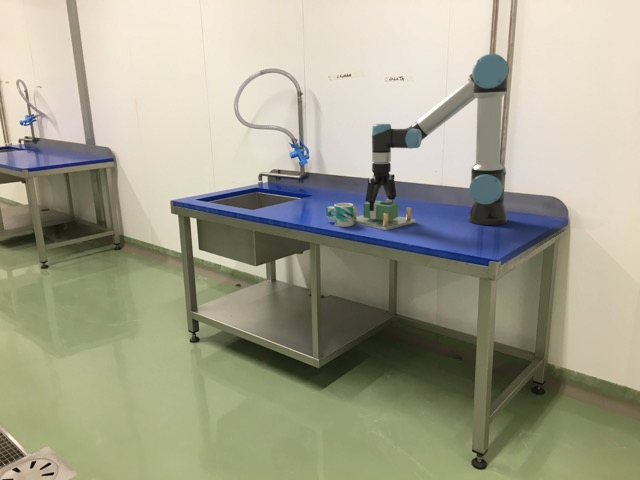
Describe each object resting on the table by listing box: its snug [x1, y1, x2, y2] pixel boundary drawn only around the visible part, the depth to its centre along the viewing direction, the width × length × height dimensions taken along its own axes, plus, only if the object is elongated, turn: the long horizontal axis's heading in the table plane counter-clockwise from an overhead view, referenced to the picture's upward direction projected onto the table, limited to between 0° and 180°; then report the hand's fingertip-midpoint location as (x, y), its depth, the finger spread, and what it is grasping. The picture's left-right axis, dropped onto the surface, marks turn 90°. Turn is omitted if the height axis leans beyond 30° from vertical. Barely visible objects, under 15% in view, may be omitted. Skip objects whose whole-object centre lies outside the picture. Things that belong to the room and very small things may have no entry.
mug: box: [325, 202, 355, 228], centre depth 222 cm, size 8×12×8 cm
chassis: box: [353, 206, 416, 231], centre depth 223 cm, size 22×18×6 cm
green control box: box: [362, 200, 399, 221], centre depth 223 cm, size 12×8×7 cm, turn 55°
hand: (381, 216), depth 224 cm, fingers closed on green control box, 9 cm apart
